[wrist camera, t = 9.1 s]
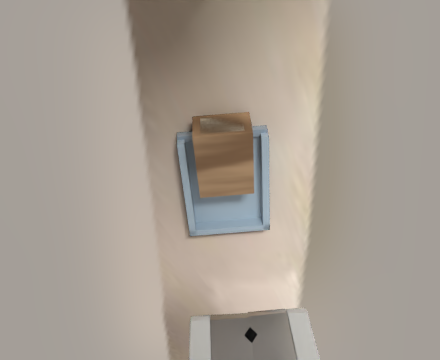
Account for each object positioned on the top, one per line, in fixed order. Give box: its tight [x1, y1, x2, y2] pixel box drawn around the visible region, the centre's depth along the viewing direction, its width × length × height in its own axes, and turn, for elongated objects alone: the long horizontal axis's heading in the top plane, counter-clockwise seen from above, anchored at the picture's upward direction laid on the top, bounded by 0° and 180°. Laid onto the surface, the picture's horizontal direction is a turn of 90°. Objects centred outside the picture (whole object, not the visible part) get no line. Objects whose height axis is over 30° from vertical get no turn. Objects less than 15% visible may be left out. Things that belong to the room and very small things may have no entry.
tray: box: [177, 125, 270, 236], centre depth 49 cm, size 13×10×2 cm
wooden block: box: [192, 112, 254, 198], centre depth 45 cm, size 4×6×8 cm
